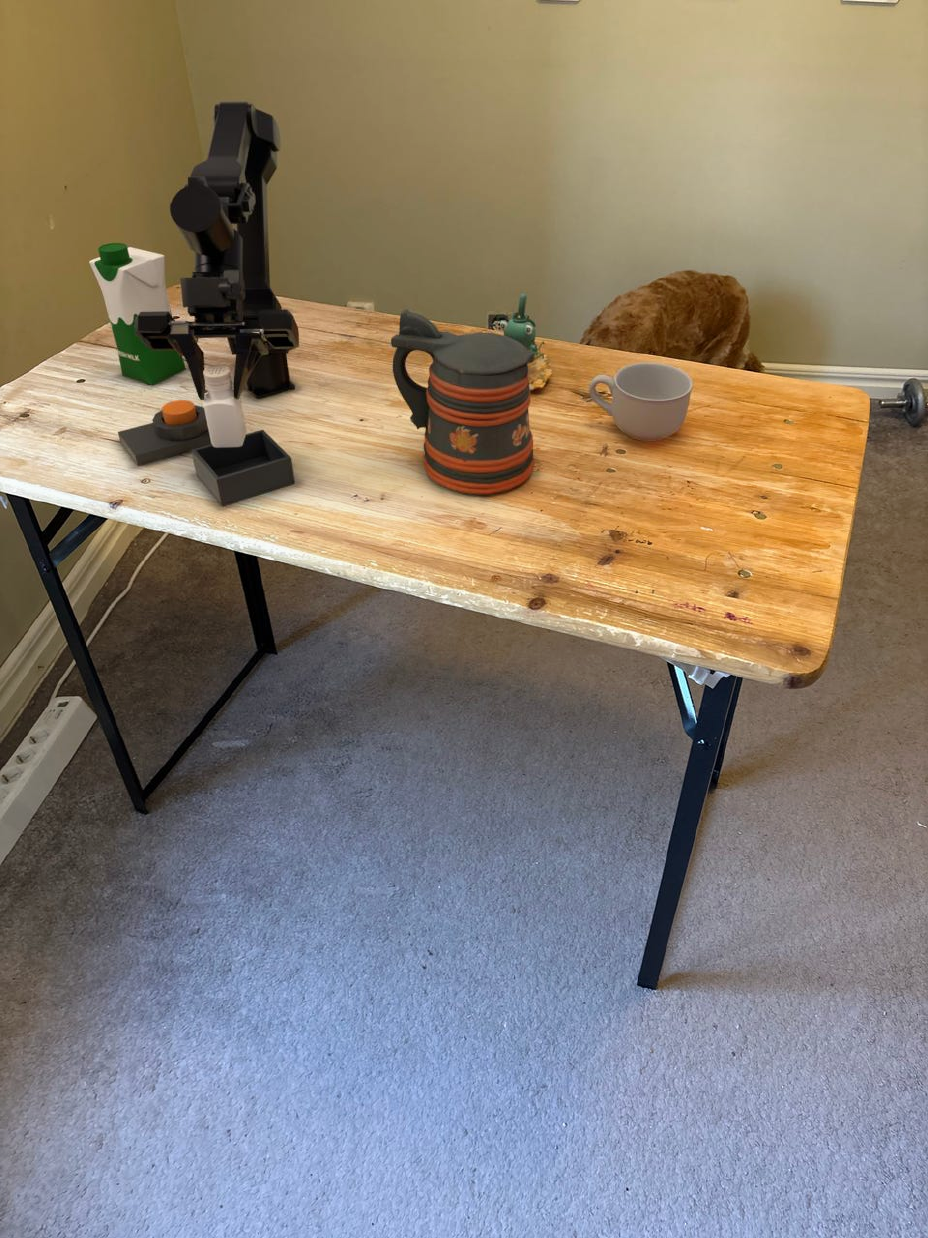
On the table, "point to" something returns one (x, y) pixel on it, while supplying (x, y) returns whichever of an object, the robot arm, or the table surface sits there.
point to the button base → (165, 438)
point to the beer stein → (468, 406)
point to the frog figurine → (527, 344)
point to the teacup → (646, 399)
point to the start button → (179, 412)
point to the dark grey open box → (243, 468)
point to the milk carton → (135, 308)
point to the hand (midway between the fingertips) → (218, 398)
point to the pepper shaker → (223, 409)
